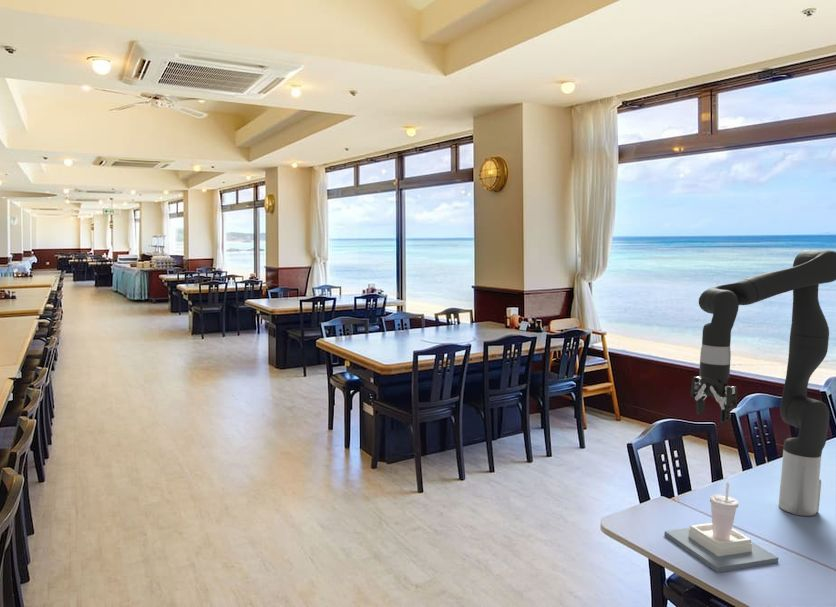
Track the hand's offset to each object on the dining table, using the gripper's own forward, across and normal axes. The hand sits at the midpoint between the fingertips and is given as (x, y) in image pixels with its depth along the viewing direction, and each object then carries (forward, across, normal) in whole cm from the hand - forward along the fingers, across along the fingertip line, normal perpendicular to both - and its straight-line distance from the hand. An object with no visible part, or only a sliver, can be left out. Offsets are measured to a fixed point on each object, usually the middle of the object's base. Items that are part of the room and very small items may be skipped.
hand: (711, 417), depth 165 cm
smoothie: (+25, -17, +12) cm, 33 cm away
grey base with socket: (+28, -17, +12) cm, 35 cm away
